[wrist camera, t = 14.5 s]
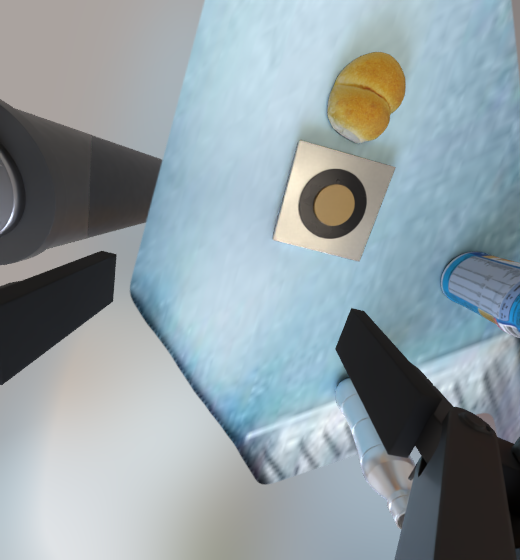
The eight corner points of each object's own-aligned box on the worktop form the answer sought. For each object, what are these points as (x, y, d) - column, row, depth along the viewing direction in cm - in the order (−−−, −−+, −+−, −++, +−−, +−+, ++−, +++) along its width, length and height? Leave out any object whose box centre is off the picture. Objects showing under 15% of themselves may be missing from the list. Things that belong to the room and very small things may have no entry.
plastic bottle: (355, 406, 48) (419, 546, 29) (324, 393, 47) (369, 529, 28) (376, 381, 46) (458, 512, 27) (344, 366, 45) (406, 492, 26)
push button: (272, 238, 38) (273, 241, 35) (298, 141, 34) (301, 137, 31) (355, 259, 39) (363, 264, 36) (390, 168, 35) (401, 166, 32)
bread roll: (410, 82, 32) (430, 67, 28) (367, 153, 34) (380, 148, 31) (354, 42, 31) (368, 21, 27) (314, 119, 33) (321, 110, 29)
